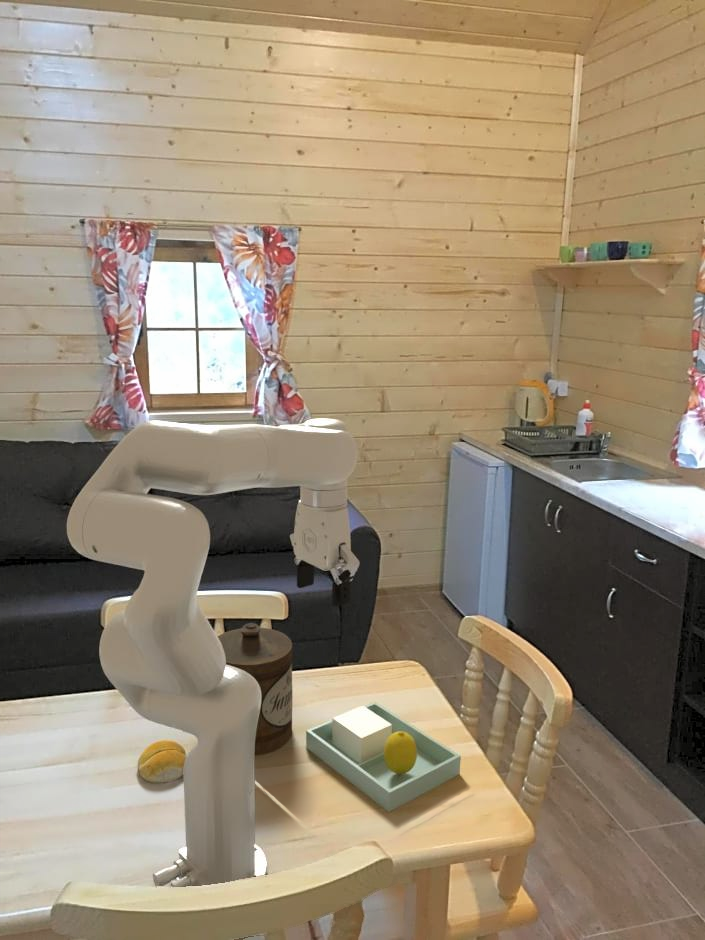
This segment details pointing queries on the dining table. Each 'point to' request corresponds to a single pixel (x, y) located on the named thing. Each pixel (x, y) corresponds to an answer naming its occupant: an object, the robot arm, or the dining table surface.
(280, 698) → the wooden container
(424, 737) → the tray
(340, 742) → the carton
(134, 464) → the robot arm
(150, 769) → the bread roll
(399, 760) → the lemon
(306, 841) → the dining table surface
